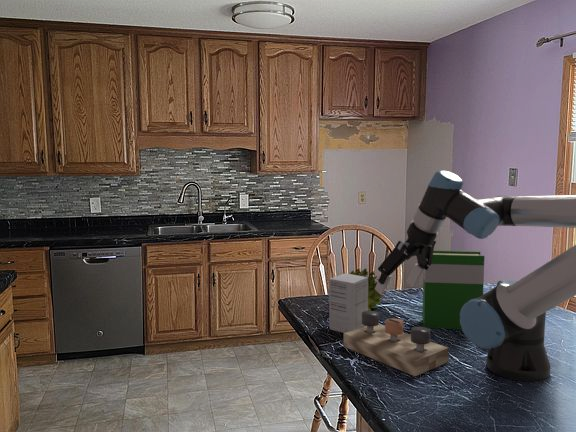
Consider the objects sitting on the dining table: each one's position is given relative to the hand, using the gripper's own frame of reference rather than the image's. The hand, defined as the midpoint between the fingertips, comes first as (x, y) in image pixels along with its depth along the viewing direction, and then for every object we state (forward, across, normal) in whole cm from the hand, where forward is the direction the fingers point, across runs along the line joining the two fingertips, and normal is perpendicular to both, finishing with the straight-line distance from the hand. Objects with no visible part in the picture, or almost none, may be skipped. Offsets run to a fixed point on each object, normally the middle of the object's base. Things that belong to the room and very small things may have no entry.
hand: (394, 288), depth 145 cm
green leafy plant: (+30, -22, -20) cm, 43 cm away
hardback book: (+17, -30, +7) cm, 35 cm away
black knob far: (+17, +3, +1) cm, 17 cm away
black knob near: (+8, +3, +17) cm, 20 cm away
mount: (+15, +3, +10) cm, 18 cm away
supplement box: (+26, -2, -10) cm, 28 cm away
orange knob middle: (+13, +3, +9) cm, 16 cm away
